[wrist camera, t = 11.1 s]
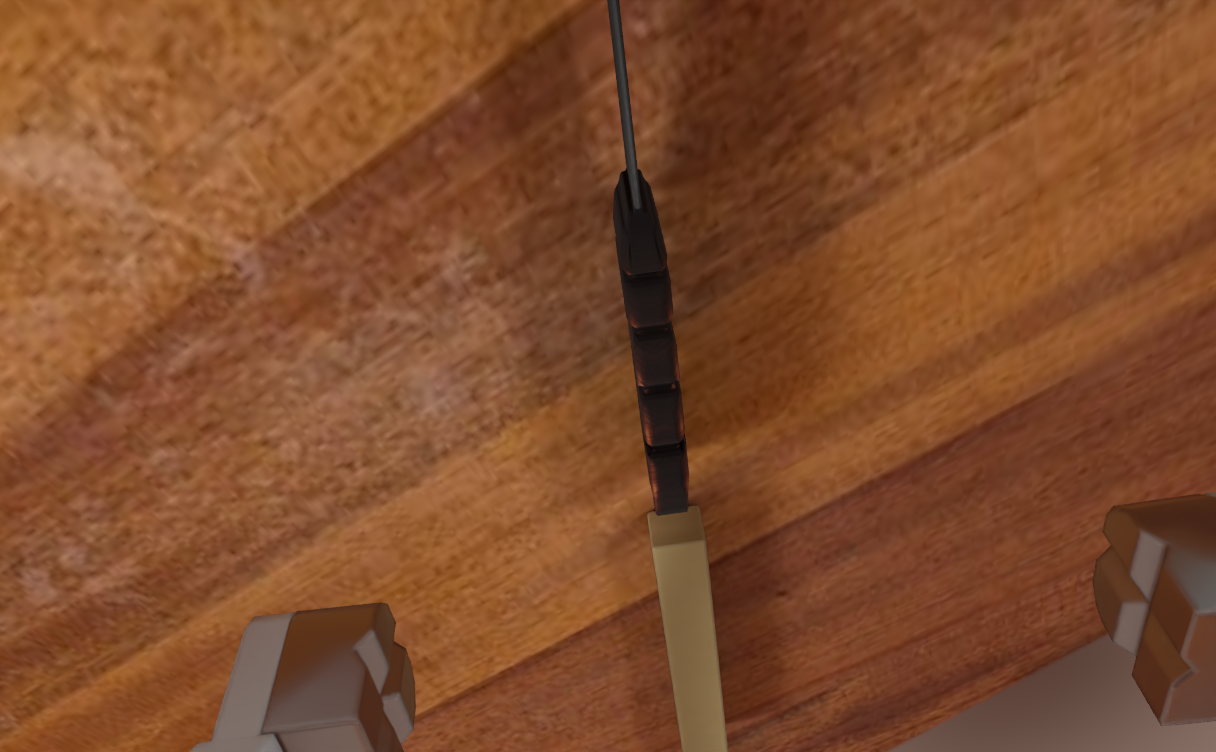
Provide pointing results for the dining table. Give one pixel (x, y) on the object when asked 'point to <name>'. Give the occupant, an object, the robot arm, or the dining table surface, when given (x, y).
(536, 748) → the dining table surface
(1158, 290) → the dining table surface
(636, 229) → the knife
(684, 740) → the wooden stick
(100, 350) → the dining table surface
